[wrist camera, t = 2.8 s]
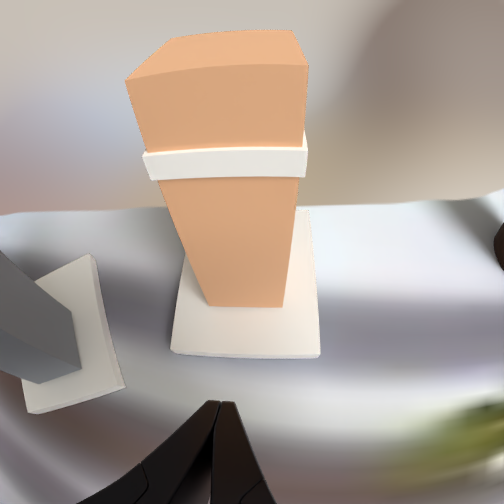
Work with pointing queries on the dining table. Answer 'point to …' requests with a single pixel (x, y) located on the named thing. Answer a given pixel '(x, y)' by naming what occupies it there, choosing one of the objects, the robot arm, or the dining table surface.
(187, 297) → the base plate
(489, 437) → the dining table surface
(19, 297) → the post two bands
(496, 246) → the coffee mug
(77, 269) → the base plate
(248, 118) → the post one band
